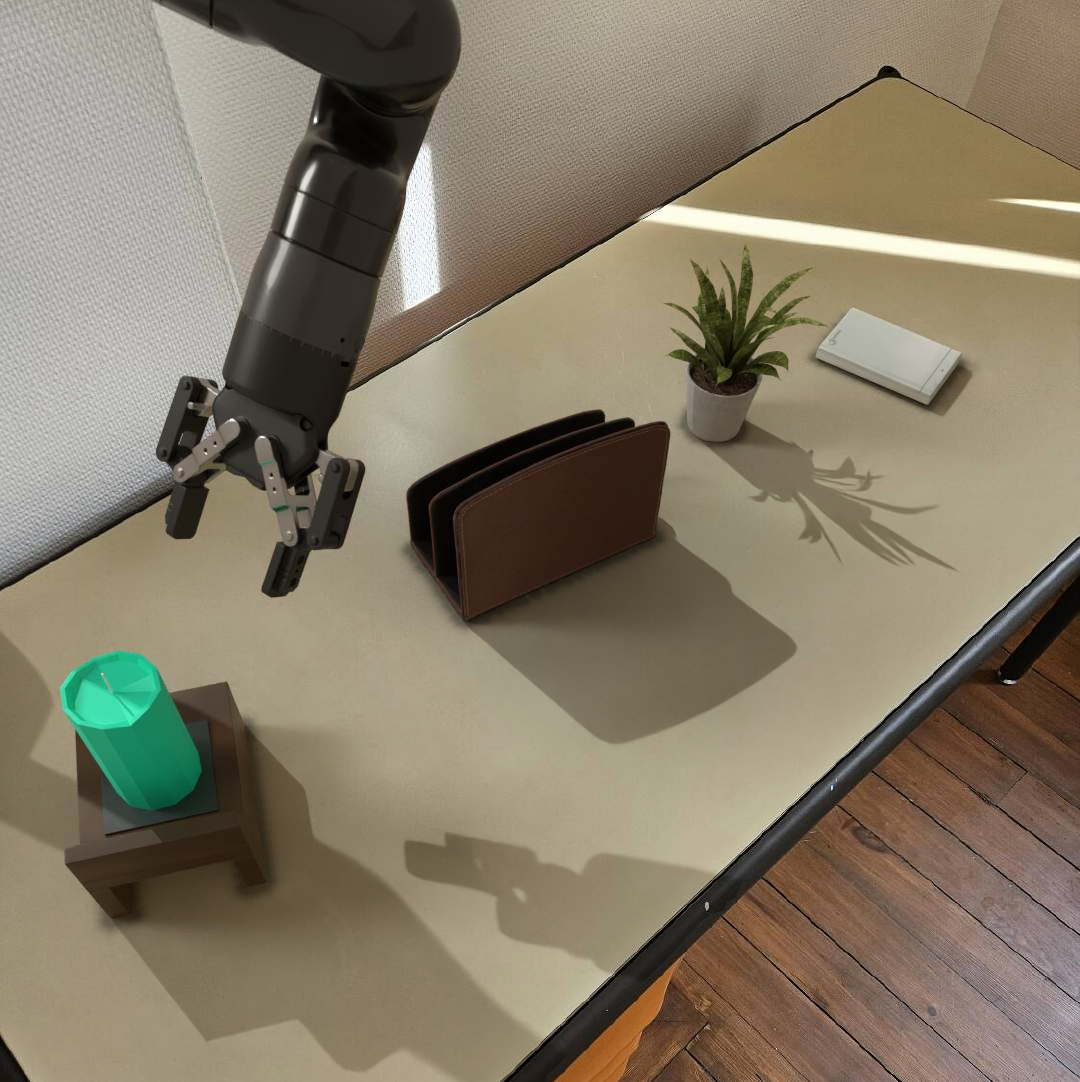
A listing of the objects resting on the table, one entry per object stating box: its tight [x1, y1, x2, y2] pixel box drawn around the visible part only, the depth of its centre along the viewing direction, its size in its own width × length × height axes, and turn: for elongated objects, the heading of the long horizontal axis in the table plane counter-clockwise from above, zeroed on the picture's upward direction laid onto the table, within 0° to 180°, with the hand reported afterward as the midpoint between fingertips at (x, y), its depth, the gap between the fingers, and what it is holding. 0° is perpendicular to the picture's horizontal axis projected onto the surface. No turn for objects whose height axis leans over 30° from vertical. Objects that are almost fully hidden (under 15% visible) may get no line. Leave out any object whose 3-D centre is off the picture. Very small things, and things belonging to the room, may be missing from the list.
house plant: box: [663, 243, 829, 443], centre depth 97 cm, size 14×14×16 cm
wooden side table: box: [63, 680, 267, 919], centre depth 75 cm, size 14×11×9 cm
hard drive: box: [814, 307, 963, 406], centre depth 108 cm, size 2×8×12 cm
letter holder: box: [405, 408, 671, 622], centre depth 89 cm, size 10×20×14 cm, turn 121°
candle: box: [59, 649, 202, 811], centre depth 69 cm, size 6×6×12 cm
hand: (226, 565), depth 71 cm, fingers open, 8 cm apart
